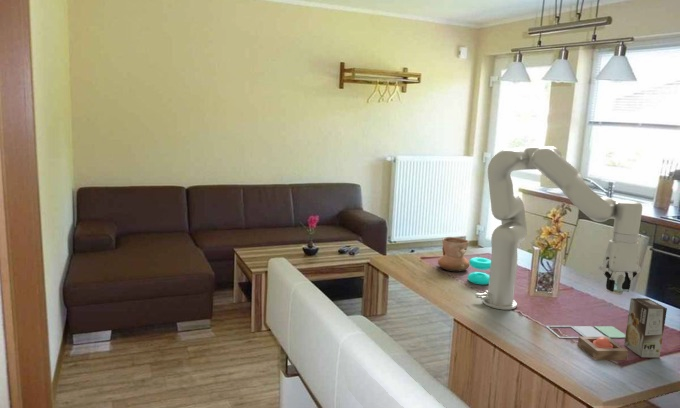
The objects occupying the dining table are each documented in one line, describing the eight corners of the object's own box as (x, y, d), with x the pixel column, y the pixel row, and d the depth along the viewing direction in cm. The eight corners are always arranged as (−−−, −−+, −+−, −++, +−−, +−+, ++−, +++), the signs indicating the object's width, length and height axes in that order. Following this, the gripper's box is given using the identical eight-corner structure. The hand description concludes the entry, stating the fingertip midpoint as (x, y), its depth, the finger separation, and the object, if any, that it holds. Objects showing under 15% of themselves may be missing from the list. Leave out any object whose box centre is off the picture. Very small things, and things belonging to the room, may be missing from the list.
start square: (559, 338, 170) (559, 337, 170) (545, 326, 180) (545, 325, 180) (587, 338, 171) (587, 337, 171) (571, 326, 181) (571, 325, 181)
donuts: (465, 256, 228) (485, 256, 231) (463, 278, 230) (483, 277, 232) (476, 263, 219) (497, 262, 221) (474, 286, 220) (495, 285, 223)
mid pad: (587, 338, 172) (587, 337, 172) (572, 327, 180) (572, 326, 180) (606, 338, 172) (606, 337, 172) (591, 327, 181) (591, 326, 181)
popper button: (598, 355, 158) (600, 341, 157) (588, 347, 164) (590, 334, 163) (615, 355, 159) (617, 341, 158) (604, 347, 164) (606, 334, 163)
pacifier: (614, 296, 171) (631, 296, 171) (616, 278, 170) (633, 278, 170) (600, 289, 178) (617, 288, 179) (602, 271, 177) (619, 271, 177)
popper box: (595, 360, 156) (597, 350, 155) (577, 345, 166) (578, 336, 165) (626, 360, 157) (628, 350, 156) (606, 345, 167) (608, 336, 166)
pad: (609, 338, 172) (609, 337, 172) (594, 327, 181) (594, 326, 181) (629, 338, 173) (629, 337, 173) (612, 327, 182) (612, 326, 182)
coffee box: (660, 358, 159) (668, 308, 157) (641, 357, 159) (649, 308, 156) (641, 344, 168) (648, 297, 166) (622, 344, 168) (629, 297, 165)
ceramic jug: (476, 273, 238) (479, 243, 236) (448, 274, 233) (450, 244, 231) (456, 263, 255) (459, 235, 253) (430, 264, 250) (432, 235, 248)
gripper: (641, 235, 176) (633, 286, 179) (594, 234, 174) (587, 286, 177) (656, 241, 169) (648, 294, 172) (607, 240, 167) (600, 293, 170)
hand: (617, 289), depth 175 cm, fingers closed on pacifier, 4 cm apart
